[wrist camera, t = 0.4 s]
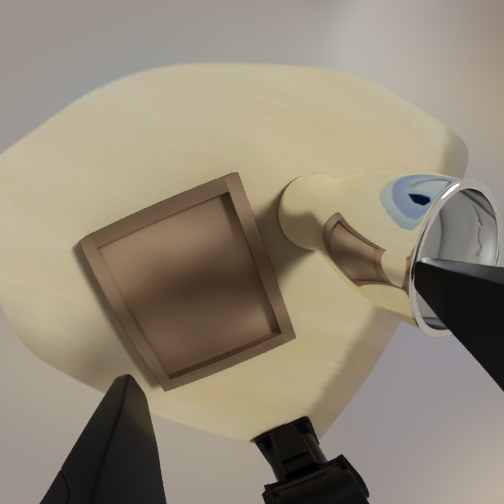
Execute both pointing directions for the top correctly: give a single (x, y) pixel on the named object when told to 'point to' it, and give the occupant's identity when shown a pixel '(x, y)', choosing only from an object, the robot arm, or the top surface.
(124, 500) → the robot arm
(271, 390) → the top surface
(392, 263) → the silver metal tumbler
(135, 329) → the walnut tray
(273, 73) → the top surface
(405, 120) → the top surface
